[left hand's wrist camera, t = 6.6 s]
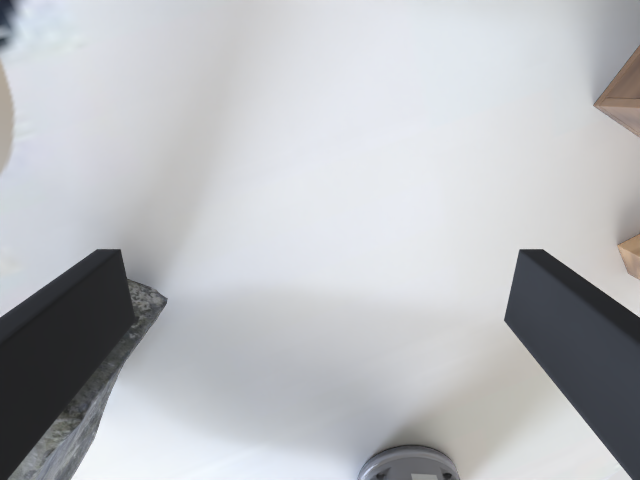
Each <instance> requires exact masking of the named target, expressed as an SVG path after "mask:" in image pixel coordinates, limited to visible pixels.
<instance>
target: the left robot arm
mask: <svg viewBox="0 0 640 480" xmlns="http://www.w3.org/2000/svg"><path fill="white" fill-rule="evenodd" d="M135 321H136V319H135V314H134V309H133V305H132V300H131V296H130V291H129V286H128V282H127V277H126V273H125V268H124V263H123V259H122V254H121V250H120V249H97V250H96V251H94V252H93V253H91V254H90V255H88V256H87V257H86V258H84V259H83V260H81V261H80V262H79V263H77V264H76V265H74V266H73V267H71V268H70V269H69V270H67V271H66V272H64V273H63V274H62V275H60V276H59V277H57V278H56V279H54V280H53V281H52V282H50V283H49V284H47V285H46V286H45V287H43V288H42V289H40V290H39V291H37V292H36V293H35V294H33V295H32V296H30V297H29V298H28V299H26V300H25V301H23V302H22V303H20V304H19V305H18V306H16V307H15V308H13V309H12V310H10V311H9V312H8V313H6V314H5V315H3V316H2V317H1V318H0V480H8V478H9V477H10V476H11V475H12V474H13V472H14V471H15V470H16V469H17V467H18V466H19V465H20V464H21V462H22V461H23V460H24V459H25V457H26V456H27V455H28V454H29V452H30V451H31V450H32V449H33V447H34V446H35V445H36V444H37V443H38V441H39V440H40V439H41V438H42V436H43V435H44V434H45V433H46V431H47V430H48V429H49V428H50V426H51V425H52V424H53V423H54V421H55V420H56V419H57V418H58V416H59V415H60V414H61V413H62V412H63V410H64V409H65V408H66V407H67V405H68V404H69V403H70V402H71V400H72V399H73V398H74V397H75V395H76V394H77V393H78V392H79V390H80V389H81V388H82V387H83V385H84V384H85V383H86V382H87V381H88V379H89V378H90V377H91V376H92V374H93V373H94V372H95V371H96V369H97V368H98V367H99V366H100V364H101V363H102V362H103V361H104V359H105V358H106V357H107V356H108V354H109V353H110V352H111V351H112V350H113V348H114V347H115V346H116V345H117V343H118V342H119V341H120V340H121V338H122V337H123V336H124V335H125V333H126V332H127V331H128V330H129V328H130V327H131V326H132V325H133V323H134V322H135ZM504 321H505V322H506V323H507V325H508V326H509V327H510V328H511V330H512V331H513V332H514V333H515V335H516V336H517V337H518V338H519V340H520V341H521V342H522V343H523V345H524V346H525V347H526V348H527V350H528V351H529V352H530V353H531V354H532V356H533V357H534V358H535V359H536V361H537V362H538V363H539V364H540V366H541V367H542V368H543V369H544V371H545V372H546V373H547V374H548V376H549V377H550V378H551V379H552V381H553V382H554V383H555V384H556V385H557V387H558V388H559V389H560V390H561V392H562V393H563V394H564V395H565V397H566V398H567V399H568V400H569V402H570V403H571V404H572V405H573V407H574V408H575V409H576V410H577V412H578V413H579V414H580V415H581V416H582V418H583V419H584V420H585V421H586V423H587V424H588V425H589V426H590V428H591V429H592V430H593V431H594V433H595V434H596V435H597V436H598V438H599V439H600V440H601V441H602V443H603V444H604V445H605V446H606V447H607V449H608V450H609V451H610V452H611V454H612V455H613V456H614V457H615V459H616V460H617V461H618V462H619V464H620V465H621V466H622V467H623V469H624V470H625V471H626V472H627V473H628V475H629V476H630V477H631V478H632V480H640V318H639V317H638V316H637V315H635V314H634V313H632V312H631V311H630V310H628V309H627V308H625V307H624V306H622V305H621V304H620V303H618V302H617V301H615V300H614V299H612V298H611V297H610V296H608V295H607V294H605V293H604V292H603V291H601V290H600V289H598V288H597V287H595V286H594V285H593V284H591V283H590V282H588V281H587V280H586V279H584V278H583V277H581V276H580V275H578V274H577V273H576V272H574V271H573V270H571V269H570V268H569V267H567V266H566V265H564V264H563V263H561V262H560V261H559V260H557V259H556V258H554V257H553V256H552V255H550V254H549V253H547V252H546V251H544V250H543V249H520V250H519V254H518V259H517V263H516V268H515V273H514V277H513V282H512V286H511V291H510V296H509V300H508V305H507V309H506V314H505V319H504ZM358 480H460V478H459V475H458V473H457V470H456V467H455V465H454V464H453V462H452V461H451V460H450V459H449V458H448V457H447V456H445V455H444V454H442V453H441V452H439V451H437V450H434V449H431V448H427V447H422V446H401V447H396V448H392V449H389V450H386V451H384V452H381V453H379V454H377V455H376V456H374V457H373V458H371V459H370V460H369V461H368V462H367V463H366V464H365V465H364V466H363V468H362V469H361V471H360V473H359V476H358Z"/></svg>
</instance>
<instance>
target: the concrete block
mask: <svg viewBox="0 0 640 480" xmlns="http://www.w3.org/2000/svg"><path fill="white" fill-rule="evenodd" d="M127 282H128V286H129V291H130V296H131V300H132V305H133V309H134V314H135V319H136V321H135V322H134V323H133V325H132V326H131V327H130V328H129V330H128V331H127V332H126V333H125V335H124V336H123V337H122V338H121V340H120V341H119V342H118V343H117V345H116V346H115V347H114V348H113V350H112V351H111V352H110V353H109V354H108V356H107V357H106V358H105V359H104V361H103V362H102V363H101V364H100V366H99V367H98V368H97V369H96V371H95V372H94V373H93V374H92V376H91V377H90V378H89V379H88V381H87V382H86V383H85V384H84V385H83V387H82V388H81V389H80V390H79V392H78V393H77V394H76V395H75V397H74V398H73V399H72V400H71V402H70V403H69V404H68V405H67V407H66V408H65V409H64V410H63V412H62V413H61V414H60V415H59V416H58V418H57V419H56V420H55V421H54V423H53V424H52V425H51V426H50V428H49V429H48V430H47V431H46V433H45V434H44V435H43V436H42V438H41V439H40V440H39V441H38V443H37V444H36V445H35V446H34V447H33V449H32V450H31V451H30V452H29V454H28V455H27V456H26V457H25V459H24V460H23V461H22V462H21V464H20V465H19V466H18V467H17V469H16V470H15V471H14V472H13V474H12V475H11V476H10V477H9V478H8V480H71V478H72V477H73V475H74V473H75V472H76V470H77V468H78V467H79V465H80V463H81V462H82V460H83V458H84V456H85V455H86V453H87V451H88V449H89V447H90V445H91V444H92V442H93V440H94V438H95V435H96V433H97V430H98V427H99V423H100V420H101V417H102V414H103V411H104V408H105V406H106V403H107V400H108V397H109V395H110V393H111V390H112V388H113V386H114V384H115V382H116V379H117V377H118V374H119V372H120V370H121V368H122V366H123V364H124V362H125V361H126V359H127V358H128V357H129V355H130V354H131V353H132V351H133V350H134V349H135V347H136V346H137V345H138V343H139V342H140V341H141V339H142V338H143V337H144V335H145V334H146V333H147V331H148V330H149V328H150V327H151V326H152V324H153V323H154V322H155V321H156V319H157V318H158V316H159V314H160V313H161V311H162V310H163V308H164V307H165V305H166V304H167V299H168V298H166V297H164V296H163V295H161V294H160V293H159V292H158V291H157V290H155V289H153V288H151V287H148V286H145V285H142V284H140V283H137V282H134V281H132V280H129V279H127Z"/></svg>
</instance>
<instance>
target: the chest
mask: <svg viewBox="0 0 640 480" xmlns="http://www.w3.org/2000/svg"><path fill="white" fill-rule="evenodd" d="M593 106H594V107H596V108H597V109H599V110H600V111H602V112H603V113H605V114H606V115H608V116H609V117H611V118H612V119H613V120H615V121H616V122H618V123H619V124H621V125H622V126H624V127H625V128H627V129H628V130H630V131H631V132H632V133H634V134H635V135H637V136H638V137H640V46H639V47H638V48H637V50H636V51H635V52H634V53H633V55H632V56H631V57H630V59H629V60H628V61H627V63H626V64H625V65H624V66H623V68H622V69H621V70H620V72H619V73H618V74H617V75H616V77H615V78H614V79H613V81H612V82H611V83H610V85H609V86H608V87H607V88H606V90H605V91H604V92H603V94H602V95H601V96H600V97H599V99H598V100H597V101H596V103H595V104H594V105H593Z"/></svg>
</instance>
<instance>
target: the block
mask: <svg viewBox="0 0 640 480" xmlns="http://www.w3.org/2000/svg"><path fill="white" fill-rule="evenodd" d="M617 246H618V248H619V251H620V253H621V256H622V258H623V261H624V263H625V266H626V269H627V271H628V273H629V274H630V275H632V276H634V277H635V278H637V279H639V280H640V234H639V235H637V236H635V237H633V238H631V239H629V240H627V241H625V242H623V243H621V244H619V245H617Z"/></svg>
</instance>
